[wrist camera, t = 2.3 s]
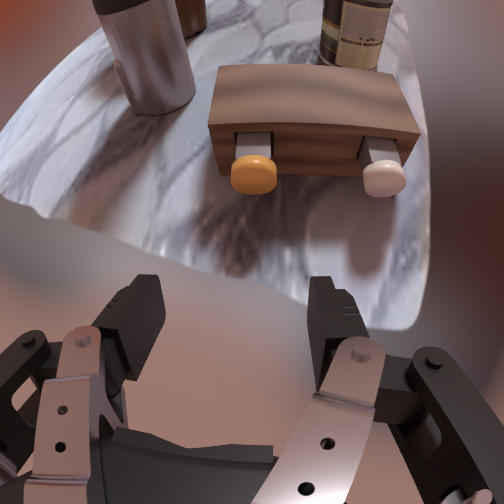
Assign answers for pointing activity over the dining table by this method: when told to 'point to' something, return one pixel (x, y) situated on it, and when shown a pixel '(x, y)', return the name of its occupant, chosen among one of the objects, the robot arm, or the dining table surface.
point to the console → (309, 115)
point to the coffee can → (353, 32)
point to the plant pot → (191, 16)
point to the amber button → (253, 164)
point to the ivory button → (381, 166)
